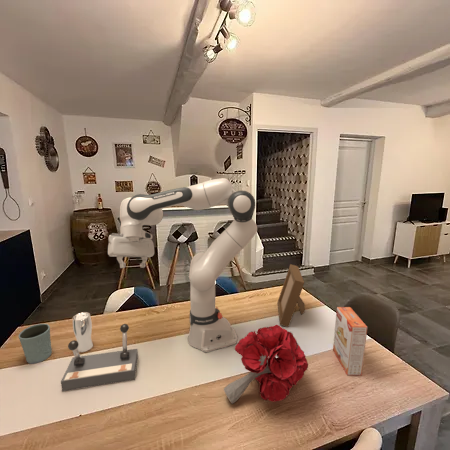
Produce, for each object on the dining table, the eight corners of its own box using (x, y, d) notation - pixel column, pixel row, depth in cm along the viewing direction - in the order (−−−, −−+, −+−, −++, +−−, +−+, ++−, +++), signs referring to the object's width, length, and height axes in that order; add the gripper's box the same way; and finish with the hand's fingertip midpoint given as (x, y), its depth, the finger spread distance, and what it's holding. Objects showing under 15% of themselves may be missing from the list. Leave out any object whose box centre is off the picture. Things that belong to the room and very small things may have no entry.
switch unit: (138, 357, 106) (137, 347, 105) (134, 379, 95) (133, 369, 94) (73, 366, 101) (72, 356, 100) (62, 391, 89) (60, 380, 88)
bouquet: (258, 447, 78) (330, 381, 84) (219, 397, 71) (300, 329, 78) (233, 394, 98) (292, 344, 104) (201, 351, 92) (266, 300, 98)
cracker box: (331, 350, 111) (336, 306, 106) (345, 350, 110) (351, 306, 106) (345, 375, 97) (351, 326, 93) (362, 376, 97) (368, 326, 92)
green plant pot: (58, 352, 108) (55, 327, 106) (32, 368, 99) (28, 341, 97) (43, 345, 113) (40, 321, 110) (17, 360, 104) (12, 334, 101)
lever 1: (85, 358, 98) (78, 337, 91) (83, 366, 95) (76, 346, 89) (76, 359, 97) (68, 339, 91) (74, 368, 95) (65, 347, 88)
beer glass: (86, 354, 108) (82, 321, 104) (72, 351, 109) (67, 319, 106) (97, 343, 114) (94, 312, 111) (84, 341, 116) (80, 311, 113)
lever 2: (130, 356, 101) (129, 322, 103) (128, 359, 98) (128, 324, 100) (121, 357, 100) (120, 323, 102) (119, 360, 97) (119, 325, 99)
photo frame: (279, 326, 127) (283, 279, 122) (277, 304, 148) (279, 263, 143) (310, 329, 125) (315, 281, 120) (303, 306, 146) (307, 265, 141)
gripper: (113, 230, 99) (114, 266, 96) (155, 235, 116) (157, 266, 112) (104, 234, 103) (104, 269, 99) (146, 238, 119) (148, 268, 116)
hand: (133, 267), depth 106 cm, fingers open, 8 cm apart
